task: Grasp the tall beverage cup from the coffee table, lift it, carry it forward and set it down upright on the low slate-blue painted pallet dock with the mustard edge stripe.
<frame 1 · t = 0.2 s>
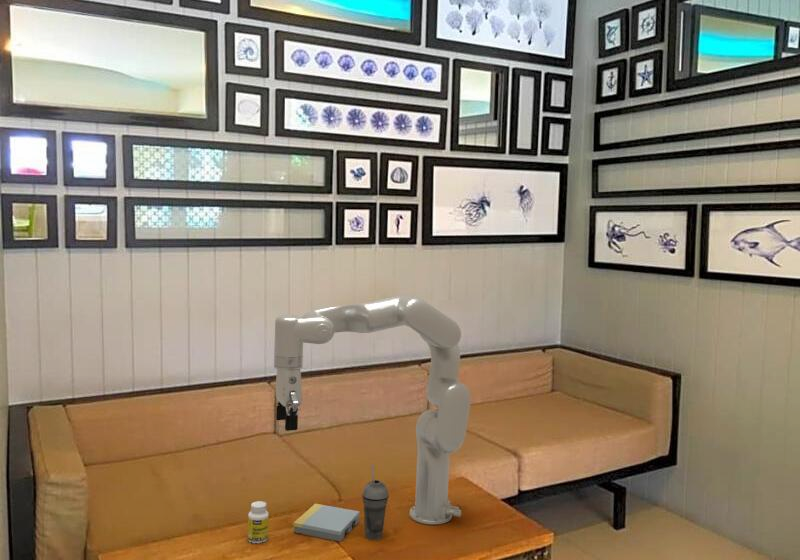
hand: (286, 424, 179), 31 cm above the table, tool pointing down, fingers open, 9 cm apart
beverage cup: (373, 536, 184), on the table
supplement bottle: (257, 540, 179), on the table
dock: (327, 527, 188), on the table
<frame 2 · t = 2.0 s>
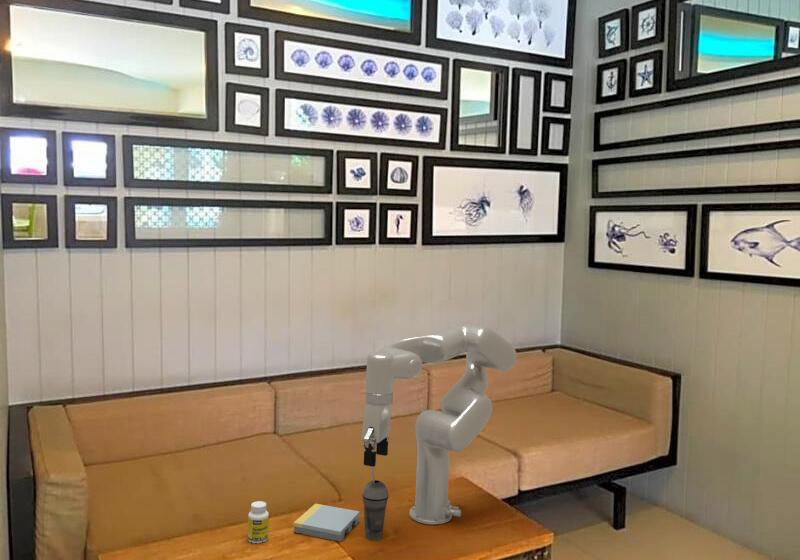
hand: (375, 460, 182), 22 cm above the table, tool pointing down, fingers open, 9 cm apart
nothing on the table moved.
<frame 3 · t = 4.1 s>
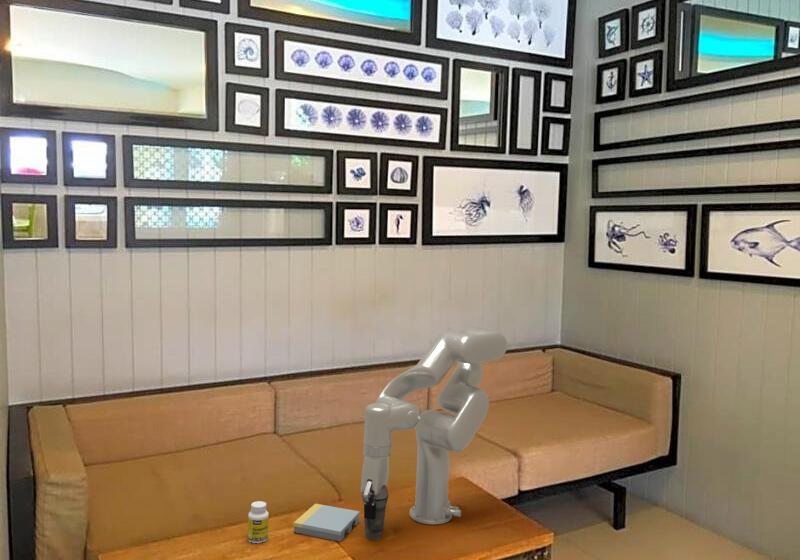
hand: (374, 512, 183), 7 cm above the table, tool pointing down, fingers closed on beverage cup, 6 cm apart
beverage cup: (373, 536, 184), on the table, touching gripper
everything else where it was.
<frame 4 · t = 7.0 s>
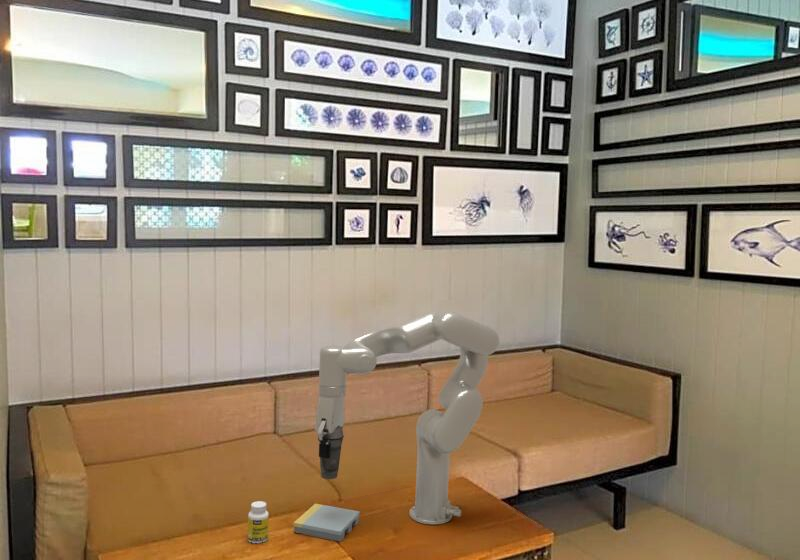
hand: (330, 452, 186), 21 cm above the table, tool pointing down, fingers closed on beverage cup, 6 cm apart
beverage cup: (329, 477, 187), point 15 cm above the table, touching gripper
everything else where it was.
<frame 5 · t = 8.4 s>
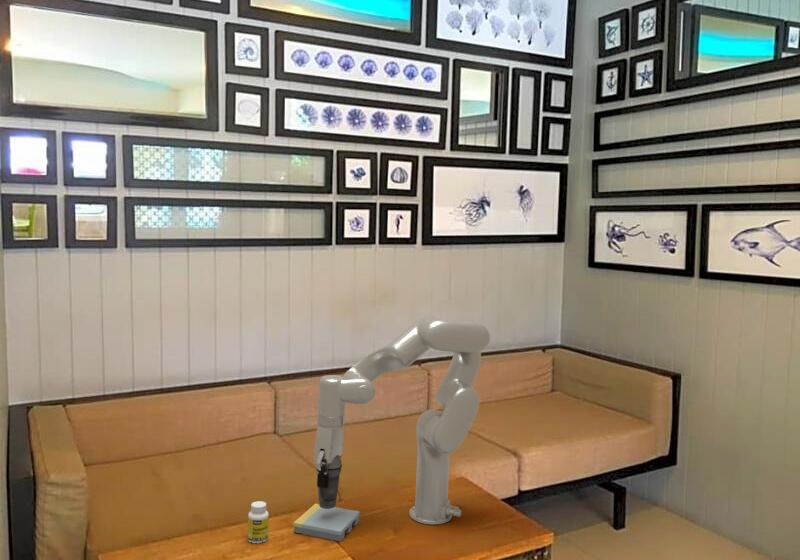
hand: (328, 482, 187), 13 cm above the table, tool pointing down, fingers closed on beverage cup, 6 cm apart
beverage cup: (327, 506, 187), point 6 cm above the table, touching gripper
everything else where it was.
when the fingers open (11 cm above the table, at t = 9.8 s): beverage cup drops 1 cm, resting on dock.
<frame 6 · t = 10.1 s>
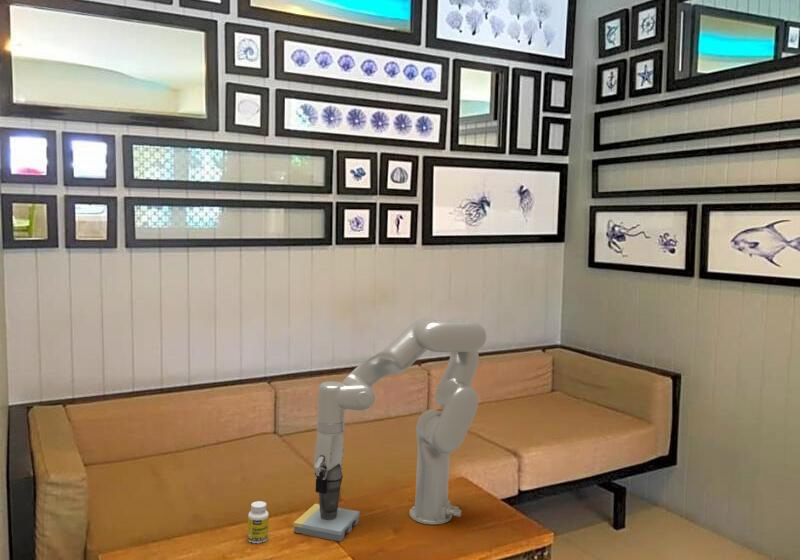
hand: (328, 486, 187), 12 cm above the table, tool pointing down, fingers open, 9 cm apart
beverage cup: (328, 517, 188), point 3 cm above the table, touching dock
everything else where it was.
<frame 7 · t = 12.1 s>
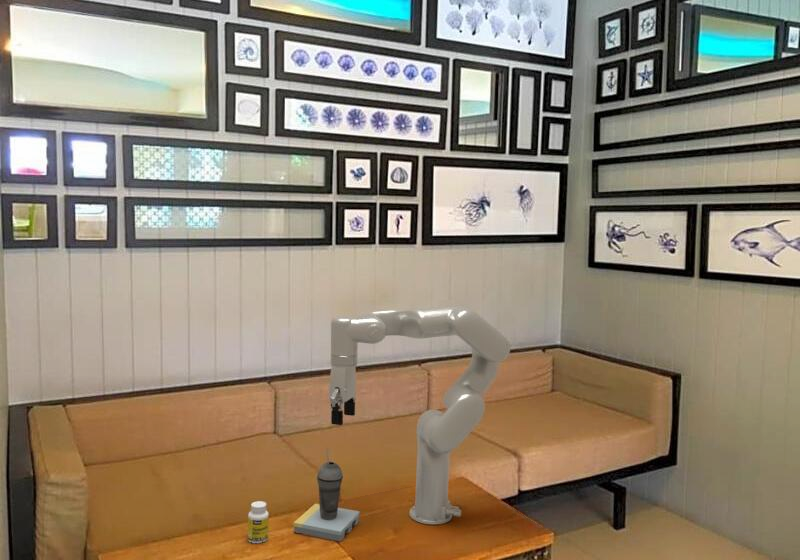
hand: (343, 419, 190), 30 cm above the table, tool pointing down, fingers open, 9 cm apart
nothing on the table moved.
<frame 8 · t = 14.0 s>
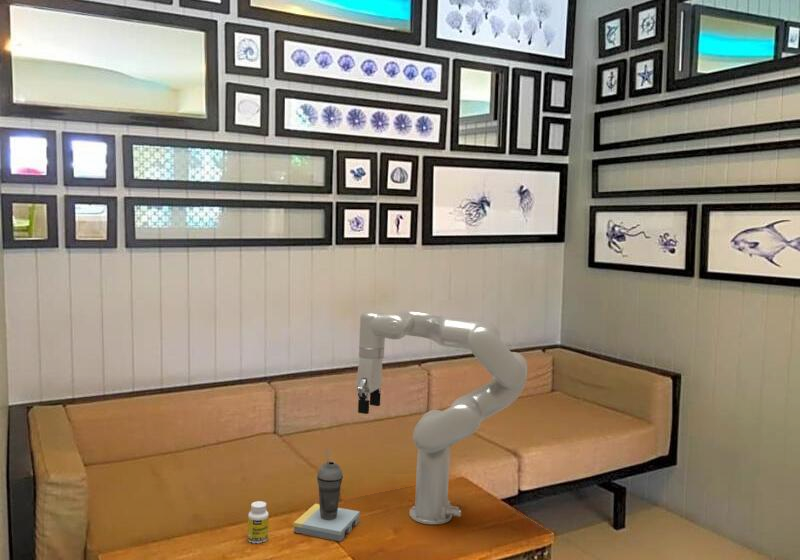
hand: (369, 409, 200), 30 cm above the table, tool pointing down, fingers open, 9 cm apart
nothing on the table moved.
at the end: beverage cup inside the target area on the dock (0.3 cm from its centre), point 2.8 cm above the dock's base; beverage cup tilted 0°; the gripper is holding nothing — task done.
